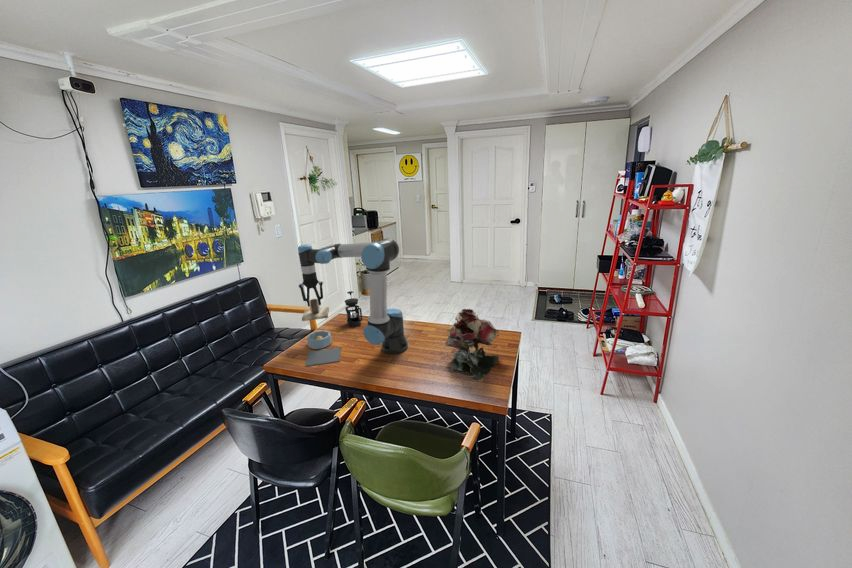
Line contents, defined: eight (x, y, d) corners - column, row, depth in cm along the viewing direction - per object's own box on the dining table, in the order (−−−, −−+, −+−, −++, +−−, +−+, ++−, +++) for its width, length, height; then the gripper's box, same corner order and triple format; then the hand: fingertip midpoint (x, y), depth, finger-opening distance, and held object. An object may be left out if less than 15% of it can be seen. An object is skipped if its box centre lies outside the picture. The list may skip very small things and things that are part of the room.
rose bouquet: (502, 354, 190) (503, 302, 181) (482, 382, 167) (482, 324, 157) (459, 345, 203) (457, 296, 194) (434, 370, 179) (431, 315, 170)
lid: (328, 309, 215) (326, 294, 212) (327, 317, 202) (325, 302, 199) (305, 312, 213) (302, 297, 210) (302, 321, 200) (299, 305, 197)
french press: (343, 325, 238) (339, 293, 231) (351, 320, 246) (347, 289, 239) (358, 327, 233) (354, 294, 226) (366, 322, 242) (362, 290, 235)
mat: (340, 348, 207) (340, 347, 207) (339, 361, 192) (339, 360, 192) (308, 352, 204) (308, 351, 204) (305, 366, 189) (305, 365, 189)
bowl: (331, 338, 221) (330, 329, 219) (330, 347, 209) (329, 338, 207) (310, 341, 218) (308, 332, 216) (308, 350, 206) (306, 341, 204)
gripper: (324, 269, 205) (330, 306, 212) (294, 272, 202) (301, 310, 209) (323, 272, 198) (329, 311, 205) (292, 275, 195) (299, 315, 202)
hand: (315, 310), depth 207 cm, fingers closed on lid, 4 cm apart
